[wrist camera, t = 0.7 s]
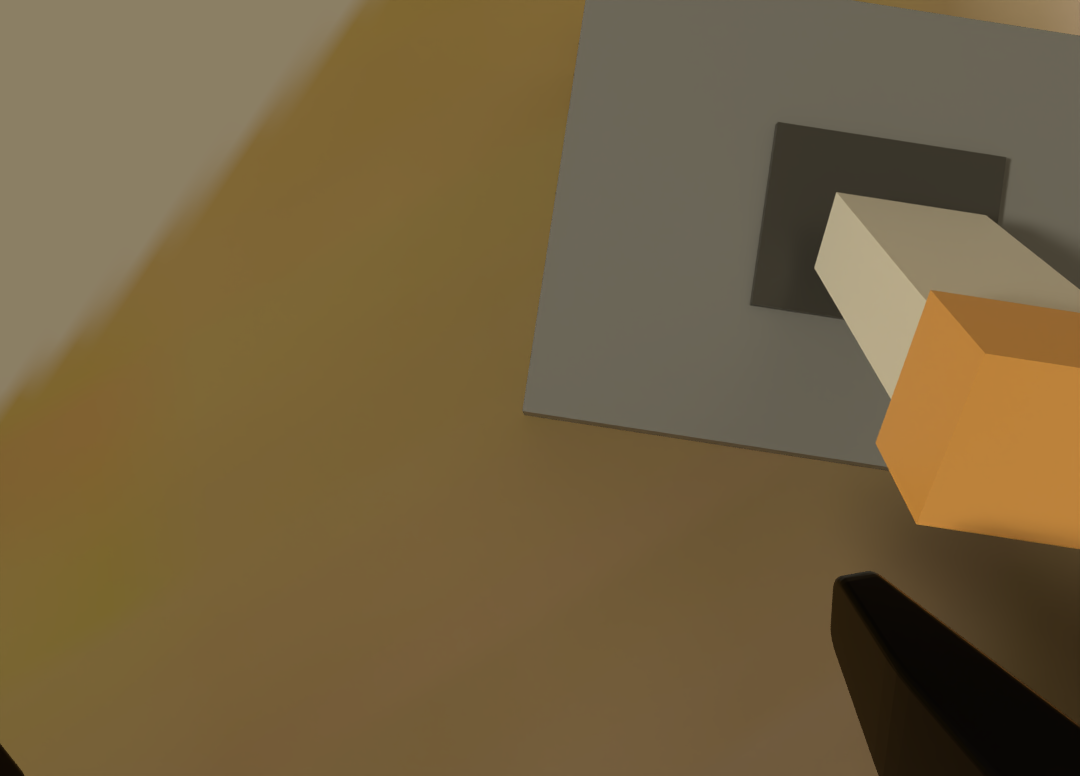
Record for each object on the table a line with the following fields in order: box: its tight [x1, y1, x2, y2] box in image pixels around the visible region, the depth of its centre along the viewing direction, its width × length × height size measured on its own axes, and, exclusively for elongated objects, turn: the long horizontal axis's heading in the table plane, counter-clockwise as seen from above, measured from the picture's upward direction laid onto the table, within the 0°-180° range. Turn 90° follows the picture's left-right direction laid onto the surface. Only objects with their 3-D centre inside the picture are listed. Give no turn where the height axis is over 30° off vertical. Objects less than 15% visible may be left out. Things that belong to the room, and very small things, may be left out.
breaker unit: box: [523, 0, 1080, 471], centre depth 23 cm, size 10×14×6 cm
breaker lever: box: [814, 192, 1080, 549], centre depth 15 cm, size 2×4×8 cm
